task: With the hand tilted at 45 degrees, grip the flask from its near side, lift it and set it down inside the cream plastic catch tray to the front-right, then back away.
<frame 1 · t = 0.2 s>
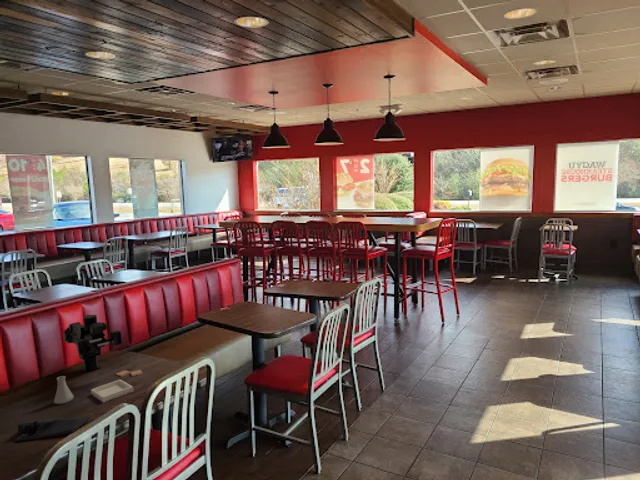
hand: (106, 346, 209), 17 cm above the table, tool horizontal, fingers open, 9 cm apart
flask: (64, 401, 196), on the table
tile a: (123, 375, 221), on the table
catch tray: (112, 392, 200), on the table
black crumpled cloth: (53, 430, 173), on the table
tile b: (136, 374, 220), on the table
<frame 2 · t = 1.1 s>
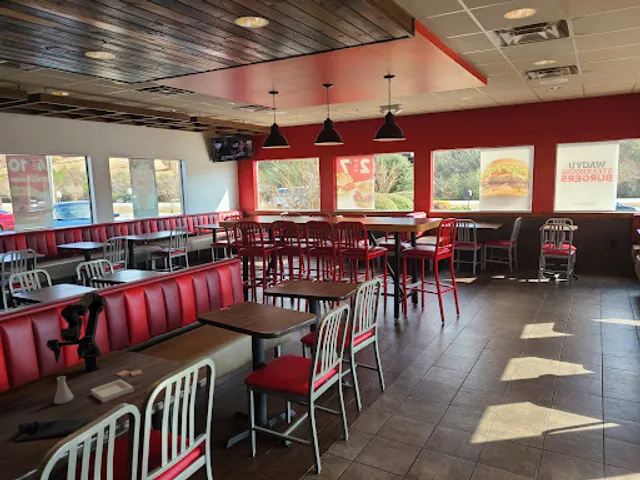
hand: (68, 361, 203), 14 cm above the table, tool tilted 45°, fingers open, 9 cm apart
nothing on the table moved.
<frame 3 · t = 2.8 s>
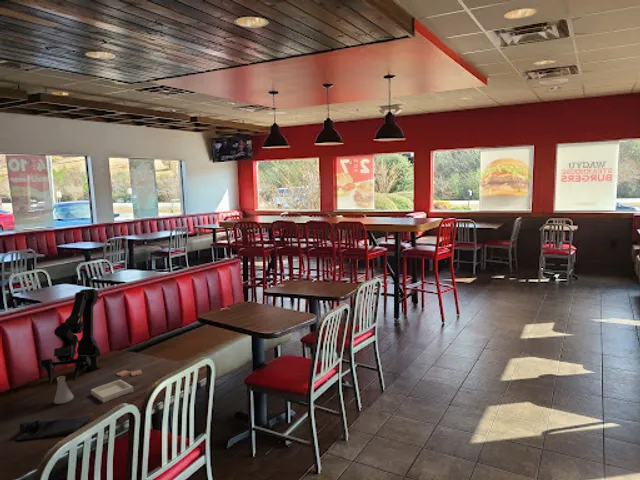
hand: (61, 381, 196), 8 cm above the table, tool tilted 45°, fingers open, 9 cm apart
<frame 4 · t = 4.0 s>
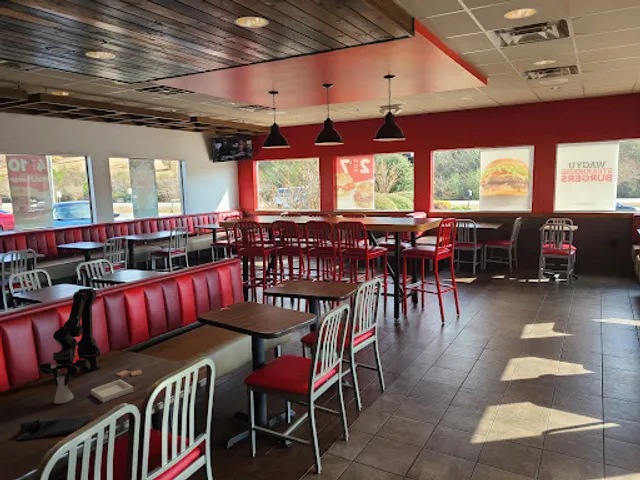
hand: (61, 386, 194), 7 cm above the table, tool tilted 45°, fingers closed on flask, 3 cm apart
flask: (64, 400, 196), on the table, touching gripper
everything else where it was.
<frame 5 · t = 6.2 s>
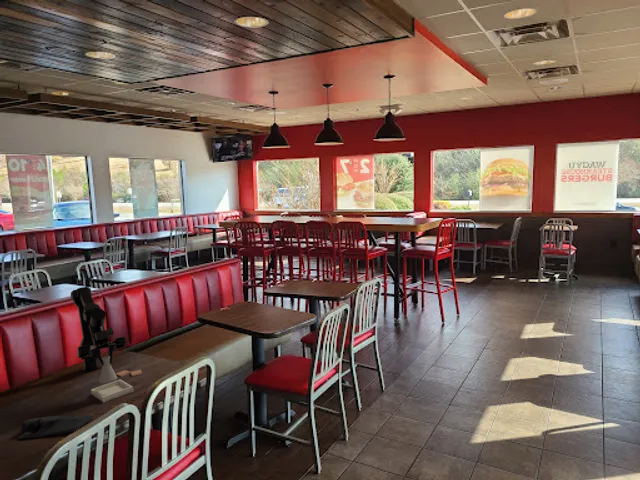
hand: (107, 364, 197), 13 cm above the table, tool tilted 45°, fingers closed on flask, 3 cm apart
flask: (108, 380, 199), point 6 cm above the table, touching gripper
when the fingers open (8 cm above the table, at t = 7.7 s): flask stays where it is, resting on catch tray.
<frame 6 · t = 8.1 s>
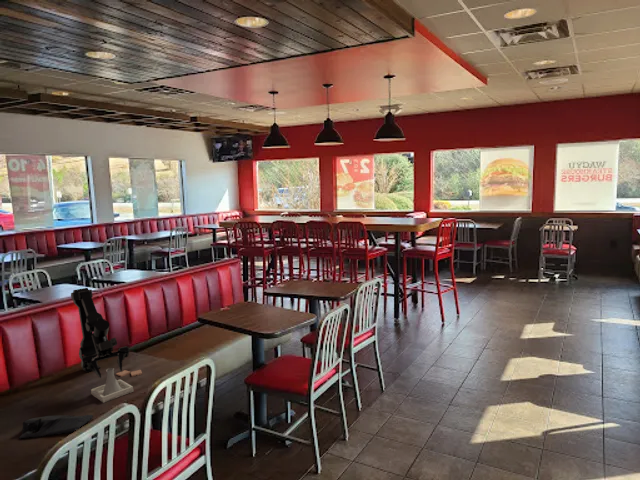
hand: (111, 374, 198), 9 cm above the table, tool tilted 45°, fingers open, 8 cm apart
flask: (112, 392, 200), resting on catch tray
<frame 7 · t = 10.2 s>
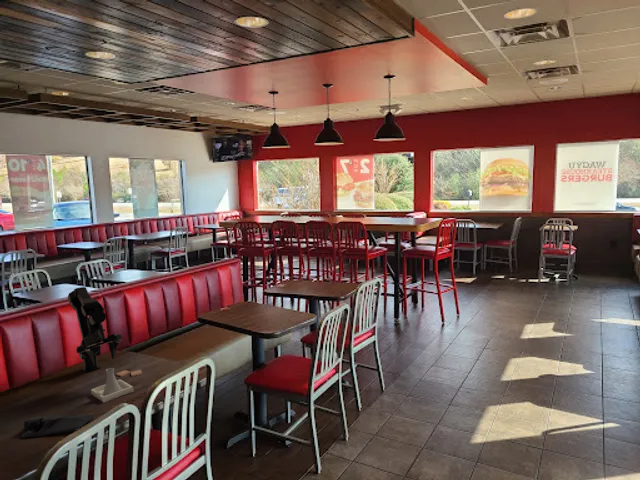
hand: (103, 362, 209), 10 cm above the table, tool tilted 25°, fingers open, 9 cm apart
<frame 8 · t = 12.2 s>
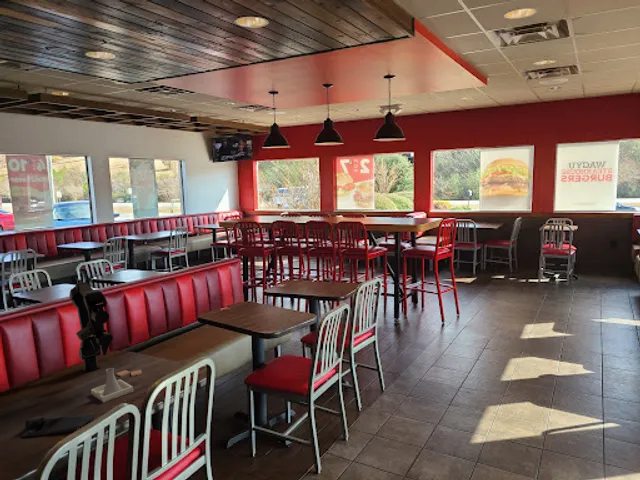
hand: (100, 353, 213), 13 cm above the table, tool pointing down, fingers open, 9 cm apart
at the end: flask inside the target area on the catch tray (0.4 cm from its centre), point 0.4 cm above the catch tray's base; flask tilted 0°; the gripper is holding nothing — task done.
